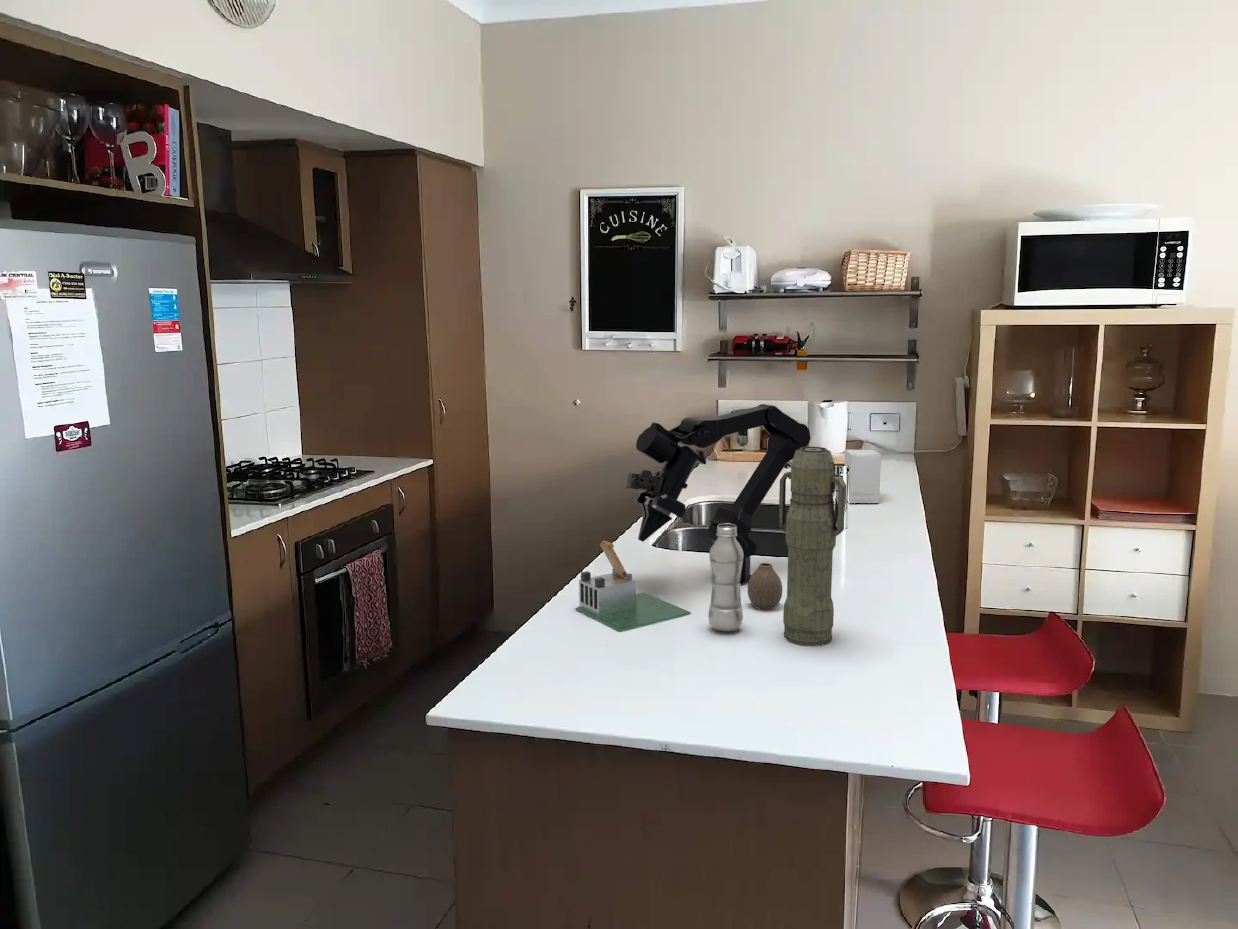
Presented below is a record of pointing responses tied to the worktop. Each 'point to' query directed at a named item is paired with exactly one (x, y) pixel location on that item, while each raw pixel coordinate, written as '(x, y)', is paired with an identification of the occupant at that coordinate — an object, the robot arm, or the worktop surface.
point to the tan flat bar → (613, 558)
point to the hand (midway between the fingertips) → (640, 540)
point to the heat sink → (622, 602)
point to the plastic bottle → (726, 580)
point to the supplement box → (863, 475)
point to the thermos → (810, 544)
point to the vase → (765, 587)
